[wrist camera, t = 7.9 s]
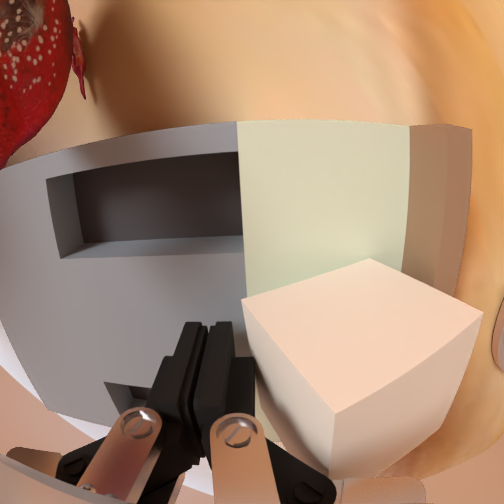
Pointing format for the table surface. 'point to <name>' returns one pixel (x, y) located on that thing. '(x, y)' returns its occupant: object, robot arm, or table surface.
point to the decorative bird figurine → (34, 67)
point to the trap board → (208, 238)
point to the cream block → (357, 364)
